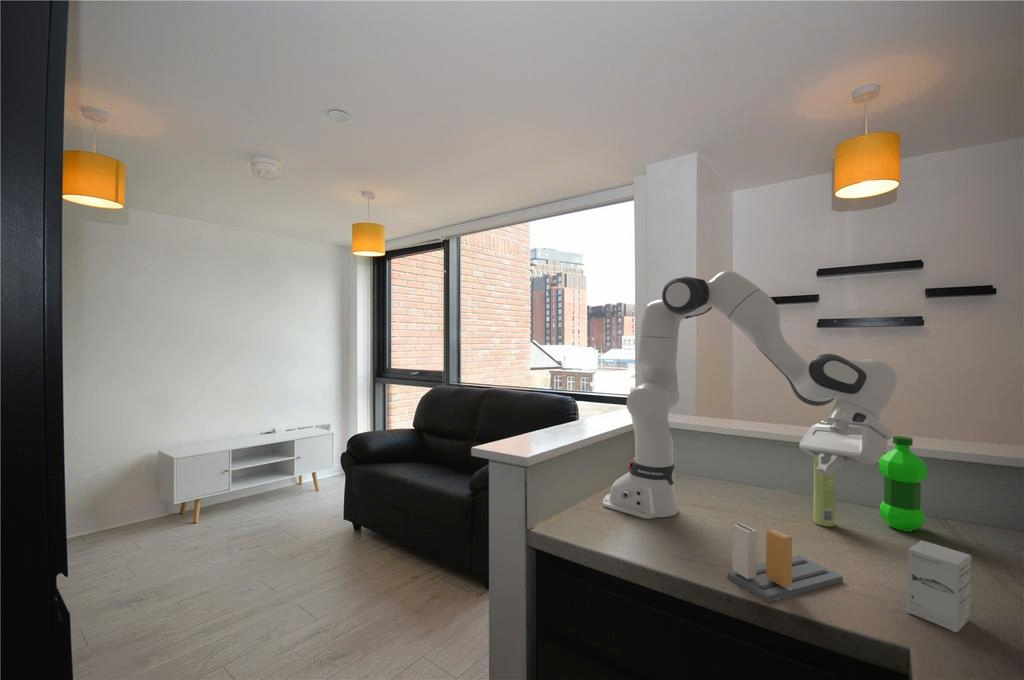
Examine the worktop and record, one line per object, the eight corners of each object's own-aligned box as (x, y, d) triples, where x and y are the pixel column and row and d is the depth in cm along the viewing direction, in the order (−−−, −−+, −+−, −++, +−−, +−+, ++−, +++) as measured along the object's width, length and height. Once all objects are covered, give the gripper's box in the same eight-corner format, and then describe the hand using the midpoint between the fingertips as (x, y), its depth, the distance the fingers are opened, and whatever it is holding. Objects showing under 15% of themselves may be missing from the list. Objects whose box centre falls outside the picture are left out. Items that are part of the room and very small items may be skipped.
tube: (812, 518, 133) (813, 451, 133) (833, 521, 130) (834, 453, 130) (813, 525, 128) (814, 455, 128) (835, 528, 126) (836, 458, 125)
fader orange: (783, 587, 94) (783, 537, 94) (766, 577, 97) (766, 530, 97) (791, 584, 94) (791, 536, 94) (774, 575, 98) (774, 528, 98)
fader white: (747, 579, 97) (748, 531, 97) (732, 570, 100) (732, 524, 100) (756, 577, 98) (756, 529, 97) (741, 568, 101) (741, 522, 101)
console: (767, 602, 91) (767, 595, 91) (727, 577, 101) (727, 571, 101) (842, 581, 99) (842, 575, 99) (799, 560, 108) (799, 554, 108)
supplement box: (905, 613, 88) (906, 547, 88) (920, 601, 92) (921, 538, 92) (957, 634, 82) (958, 564, 81) (971, 620, 86) (972, 553, 85)
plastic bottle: (897, 535, 121) (898, 441, 121) (868, 519, 132) (869, 433, 132) (937, 536, 121) (938, 442, 121) (905, 520, 131) (906, 433, 131)
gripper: (808, 413, 118) (782, 459, 116) (876, 417, 97) (846, 472, 95) (828, 427, 118) (802, 473, 116) (901, 434, 97) (871, 489, 95)
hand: (823, 473), depth 105 cm, fingers closed
